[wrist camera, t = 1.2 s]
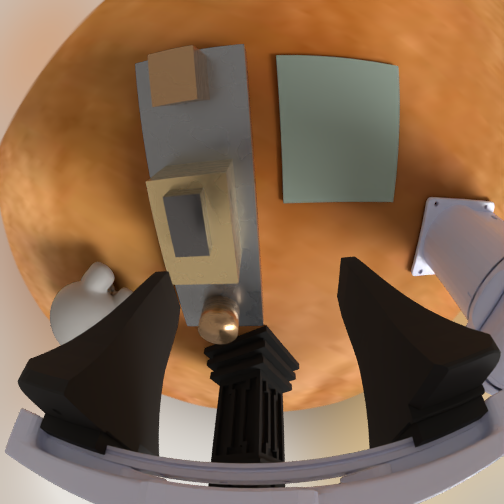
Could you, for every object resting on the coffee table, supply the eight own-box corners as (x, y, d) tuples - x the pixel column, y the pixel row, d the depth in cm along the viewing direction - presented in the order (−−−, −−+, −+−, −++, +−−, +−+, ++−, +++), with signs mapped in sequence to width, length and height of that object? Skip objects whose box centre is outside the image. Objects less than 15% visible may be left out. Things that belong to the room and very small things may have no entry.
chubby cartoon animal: (72, 270, 28) (29, 319, 22) (103, 248, 21) (40, 320, 15) (109, 311, 31) (72, 361, 25) (155, 307, 24) (104, 379, 18)
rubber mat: (395, 66, 15) (398, 66, 14) (391, 200, 20) (393, 202, 20) (275, 56, 15) (276, 55, 15) (283, 201, 21) (283, 203, 20)
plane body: (149, 66, 15) (108, 58, 10) (246, 51, 15) (239, 30, 10) (192, 308, 27) (179, 355, 21) (263, 307, 26) (263, 356, 21)
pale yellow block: (165, 166, 17) (138, 187, 13) (232, 159, 17) (223, 177, 13) (182, 256, 21) (166, 294, 17) (241, 254, 20) (237, 293, 16)
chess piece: (204, 347, 30) (176, 519, 13) (266, 325, 28) (265, 528, 10) (242, 381, 33) (233, 526, 16) (298, 363, 31) (309, 525, 14)
